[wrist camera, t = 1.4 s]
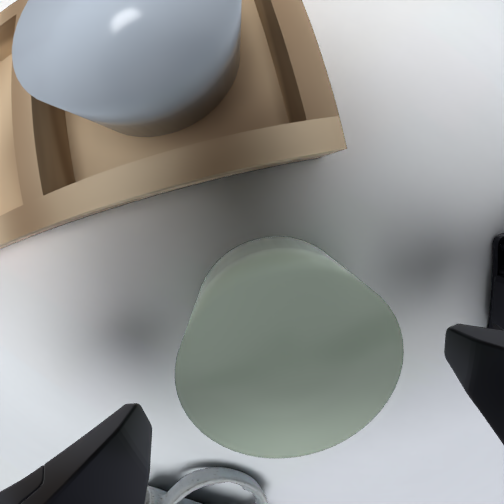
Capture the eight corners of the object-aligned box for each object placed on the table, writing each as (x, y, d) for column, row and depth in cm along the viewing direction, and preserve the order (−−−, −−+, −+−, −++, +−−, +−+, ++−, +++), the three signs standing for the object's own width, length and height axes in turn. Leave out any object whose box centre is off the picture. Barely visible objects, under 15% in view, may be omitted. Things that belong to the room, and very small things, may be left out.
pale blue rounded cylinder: (222, -16, 9) (217, -95, 4) (257, 112, 10) (271, 58, 5) (80, 29, 9) (22, -22, 4) (94, 158, 10) (13, 147, 5)
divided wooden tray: (258, -43, 9) (263, -83, 6) (320, 157, 11) (346, 148, 8) (-58, 104, 9) (-89, 99, 6) (-41, 267, 11) (-75, 281, 8)
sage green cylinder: (337, 220, 12) (398, 242, 7) (355, 357, 13) (399, 425, 8) (178, 256, 12) (140, 302, 7) (220, 388, 13) (214, 470, 8)
